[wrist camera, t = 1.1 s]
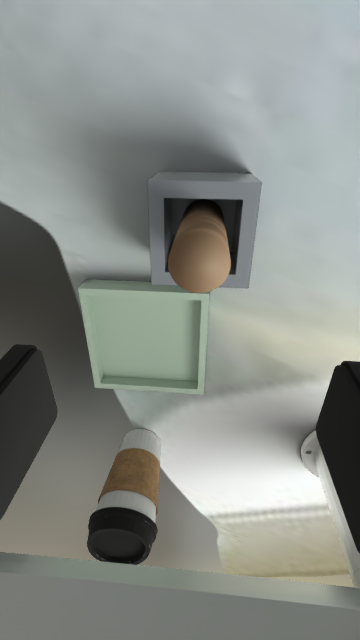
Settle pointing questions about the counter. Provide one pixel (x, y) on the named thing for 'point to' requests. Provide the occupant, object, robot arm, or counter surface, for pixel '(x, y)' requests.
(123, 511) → the coffee cup
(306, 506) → the counter surface
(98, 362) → the sage tray
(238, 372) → the counter surface
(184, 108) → the counter surface
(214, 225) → the walnut dowel
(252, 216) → the square cup
